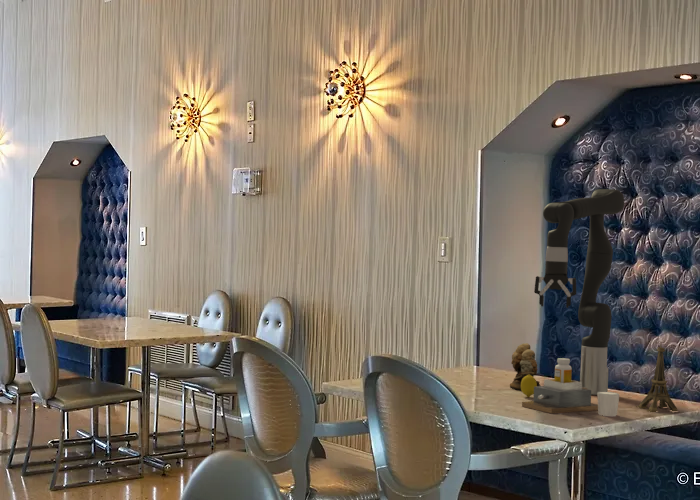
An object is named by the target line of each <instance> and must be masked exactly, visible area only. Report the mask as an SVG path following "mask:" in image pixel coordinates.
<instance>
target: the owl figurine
mask: <svg viewBox="0 0 700 500" xmlns="http://www.w3.org/2000/svg"><path fill="white" fill-rule="evenodd" d="M511 365H512V368H513V370H514V372H516V374H515V377H514V378H513V381H512V382H510V384H509V388H510V389H511V388H512V389H511V390H515V391H520V392H522V391H521V381H522V379H523V378H524V377H525V376H527V375H531V376H533V377H534V376H537V373H538V362H537V360H536V352H535V351H534V350H532V349H531V345H530V344H529V343H525V342H524V343H521V344H519V345H518V346H517V347H516V349H515V351H514V352H513V353H512V355H511ZM536 383H537V386H542V385H541V384H540V381H538V380H536Z"/></svg>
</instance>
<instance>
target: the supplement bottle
mask: <svg viewBox="0 0 700 500" xmlns="http://www.w3.org/2000/svg"><path fill="white" fill-rule="evenodd" d="M570 362H571V359H570V358H564V357H562V358H561V357H560V358H559V357H558V358H557V360H556V363H557V364H556V365H555V367H554V379H555V381H556V382H561V383H567V382H571V380H572V374H573V373H572V371H573V369H572V366H571V365H570Z"/></svg>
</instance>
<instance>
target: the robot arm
mask: <svg viewBox="0 0 700 500" xmlns="http://www.w3.org/2000/svg"><path fill="white" fill-rule="evenodd" d="M624 207H625V196H624V194H623V192H621V191H620V190H618V189H613V188H610V189H609V188H608V189H607V188H606V189H605V188H604V189H603V188H601V189H600V188H599V189H598V188H597V189H594V191H593V192H592V193H591V197H580V198H575V199H570V200H566V201H558V202H550V203H548V204H547V205H546V206H544V208H543V211H542V215H543V218H544V220H545V221H546V222H547V223H551V224H558V225H557V227H556V228H555V229H552V230H549V231H548V233H547V239H546V250H545V251H546V252H545V258H544V259H545V265H544V266H545V267H544V276H538V275H537V276H536V277H535V281H534V293H535V294H537V295H538V296H539V301H538V303H539V305H540V307H544V300H545V295H544V294H545V293H546V291H548V289H549V290H557V291H559V290H562V291H564V293H565V295H566V301H565V302H566V305H565V306H566V308H567V309H569V307H571V304H572V303H571V302H572V301H571V300H572V299H571V298H572V297H573V296H576V295H577V279H576V277H573V278H572V277H569V278H568V264H569V263H568V260H569V252H568V251H569V250H568V249H569V248H568V245H569V234H570V231H571V228H572V225H573V222H574V220H578V219H582V218H587V217H589V232H588V244H587V251H586V259H585V260H586V261H585V272H584V279H583V285H582V286H583V287H582V292H581V296H580V301H579V306H578V311H577V312H578V313H577V314H578V315H577V317H578V322H579V323H580V325H581V326H582V327H587V328H592V331H591V333H590V334H589V335H587V336H584V337H582V338H581V348H580V350H581V352H580V353H581V354H580V375H579V382H582V388H583V387H585V388H587V389H588V390H591V396H592V395H594V396H597V392H609V391H608V388H609V387H608V386H609V367H608V366H607V364H608V347H609V346H608V345H609V341H610V339H611V337H610V336H611V327H612V318H613V317H612V309H611V308H610V306H609V304H607V303H603V302H597V298H598V297H597V296H598V292H599V289H600V288H601V285H602V283H603V282H604V281H605V280H606V278H607V277H608V275H609V273H610V272H611V269H612V265H613V255H614V254H613V252H614V249H613V246H612V243H611V241H610V239H609V237H608V235H607V233H606V230H605V225H604V224H605V223H604V221H605V220H604V218H605V215H616V214H619V213H620V212H622V211H623V209H624ZM542 281H544V283H545V285H544V287H543V288H542V289H541V290H539V286H540V284H541V283H542ZM568 282H569V283H570V285H572V291H571V292H570V291H569V289H568V288H567V287H566V285H567V283H568Z"/></svg>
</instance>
